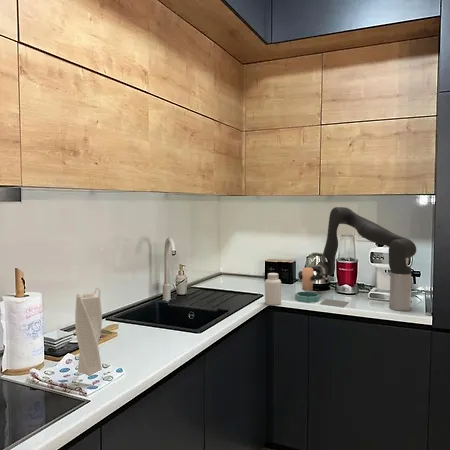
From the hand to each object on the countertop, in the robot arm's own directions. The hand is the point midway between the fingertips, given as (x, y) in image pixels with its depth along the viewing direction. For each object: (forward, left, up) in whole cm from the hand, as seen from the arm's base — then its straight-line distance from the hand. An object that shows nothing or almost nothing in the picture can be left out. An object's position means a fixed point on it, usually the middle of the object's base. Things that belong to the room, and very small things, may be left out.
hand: (305, 278), depth 219 cm
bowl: (0, -2, -12) cm, 12 cm away
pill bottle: (+13, +12, -12) cm, 21 cm away
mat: (-14, -2, -12) cm, 19 cm away
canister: (0, -3, -6) cm, 7 cm away
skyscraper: (+24, +120, -13) cm, 123 cm away
